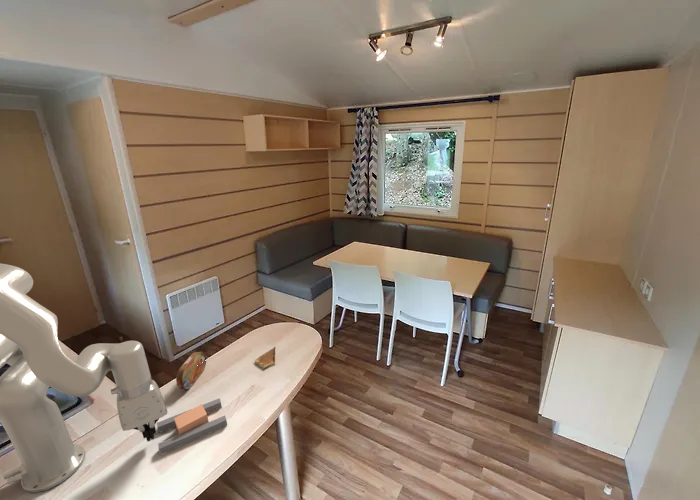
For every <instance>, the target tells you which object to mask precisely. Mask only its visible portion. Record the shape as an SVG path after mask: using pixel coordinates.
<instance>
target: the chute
mask: <svg viewBox="0 0 700 500" xmlns="http://www.w3.org/2000/svg"><path fill="white" fill-rule="evenodd" d="M202 405H203V407H204V409H205V411H206V413H207V414H209V413H212V412H213V411H216V410H219V409H220V408H222V402H221V397H219V398H216V399H214V400H211V401H210V402H209V401H208V402H205V403H204V404H202ZM189 410H190V409H188V410H186V411H183V412H180V413H178V414H175V415H173V416H170V417H168V418H165V419H163V420H160V421H157V422H156V427H157V428H156V430H157V432H158V434H160V433H163V432H165V431H167V430H170V429H172V428H174V427H175V428H176V424H175V420H174V418H175V417H177V416H179V415H181V414H183V413H185V412H187V411H189ZM227 426H228V421H227V418H226V415H223V416H221V417H218V418H215V419H214V420H211V421H209V422H208V423H206V424H203V425H201V426H199V427H196V428H194V429H192V430H189V431H187V432H185V433H182V434H180V435H179V434H178V435H175V436H173V437H171V438H168V439H165V440H164V441H162V442H158V444H157V445H158V452H159V455H160V456H161V455H163V454H166V453H168V452H170V451H172V450H175V449H177V448H179V447H181V446H183V445H186V444H188V443H191V442H193V441H195V440H198V439H200V438H202V437H204V436H206V435H209V434H212V433H213V432H216V431H218V430H220V429H223V428H225V427H227Z"/></svg>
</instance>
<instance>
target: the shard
mask: <svg viewBox="0 0 700 500" xmlns="http://www.w3.org/2000/svg"><path fill="white" fill-rule="evenodd" d="M254 364H257V365H258V366H260V367H261V368H262V369H265V368H268V367H270V366H275V365H276V346H274V347H273V348H271V349H269V350H268V351H266V352H265V353H264V354H261V355H260V356H259V357H258V358H256V359H254Z"/></svg>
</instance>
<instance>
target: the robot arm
mask: <svg viewBox="0 0 700 500" xmlns="http://www.w3.org/2000/svg"><path fill="white" fill-rule="evenodd" d="M33 286H34V279H33V277H32V275H31V274H30V273H29V272H28V271H27V270H24V268H21V267H19V266H16V265H11V264H7V263H0V369H2V367H4V366H5V365H9V366H10V367H9V368H7V369H6V371H4V372H3V373H2V374H1V376H0V423H1V426H2V427H3V429H4V430H5V432H6V435H7V437H8V438H9V439H10V442H11V444H12V446H13V448H14V451H15V452H16V455H17V456H18V458H19V461H20V463H21V464H20V465H19V466H17V467H13V468H10V469H8V470H5V471H4V472H3V479H4V480H6V481H7V483H6V484H7V485H11V484H13V483H15V482H17V481H21V487H22V489H23V490H24V491H25V492H29V493H40V492H44V491H47V490H49V489H52V488H54V487H56V486H58V485H59V484H61V483H63V482H64V481H66V480H67V479H68V478H70V477H71V476H72V475H73V474H74V473H76V471H77V470H78V469H79V468H80V467H81V465H82V463H83V462H84V460H85V457H86V451H85V448H84V447H83V446H81V444H75V443H73V440H72V438H71V436H70V433H69V430H68V428H67V425H66V422H65V421H64V418H63V416H62V413H61V411H60V409H59V407H58V404H57V403H56V402H55V401H53V400H52V399H50V398H49V397H48V396H47V391H49V388H52V389H53V390H55V391H57V392H58V393H59V392H60V393H61V394H64V395H66V396H68V397H69V396H70V397H76V398H80V397H81V398H82V397H85V396H89V395H91V394H92V393H94V392H96V390H97V389H98V388H99V387H100V385H101V384H102V383H103V380H104V379H105V377H106V375H107V373H108V372H110V371H111V372H112V376H113V378H114V382H115V385H116V386H115V387H114V388H111V389H110V393H111V395H114V394H115V395H117V397H116V408H117V415H118V418H119V419H118V420H119V424H120V427H121V430H122V431H123V432H124V431H130V430H136V431H139V433H141V434H142V437H143V439H146V442H147V443H148V442H150V441H153V440H155V434H157V428H156V426H155V425H157V423H158V422H159V419H161V418H163V417H164V416H166V415H168V408H167V407H166V406H165V401H164V397H163V395H162V391H161V390H160V387H159V385H158V384H157V382H156V381H155V379H152V374H151V372H150V368H149V364H148V360H147V357H146V353H145V348H144V346H143V344H142V343H141V342H139V341H137V340H126V341H123V342H120V343H108V342H107V343H105V342H103V343H101V342H100V343H94V344H93V343H92V344H90V345H88V346H85V348H84V349H83V350H81V352H80V353H79V354H78V356H77V357H76V359H75V360H74V361H73V359H71V358H69V357H68V356H67V355H66V353H65V352H64V350H63V349H62V348H61V346H60V343H59V339H58V336H59V335H58V334H59V333H58V326H59V323H58V317H57V315H56V314H55V313H54V312H52V311H51V310H49V309H48V308H46V307H45V306H43V305H42V304H40V303H39V302H37V301H36V300H34V299H33V298H31V297H30V296H29V295H27V294H28V293H29V292H30V291H31V290H32V289H33Z"/></svg>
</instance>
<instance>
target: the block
mask: <svg viewBox="0 0 700 500" xmlns="http://www.w3.org/2000/svg"><path fill="white" fill-rule="evenodd" d="M188 410H189V411H188ZM188 410H186V411H187V412H186V411H184V412H185V413H183V412H182V413H183V414H181V413H180V414H181V415H179V416H177V417H175V418H174V420H175V424H176V426H175V429H176V431H177V433H178V435H180V434H182V433H185V432H187V431H189V430H192V429H194V428H196V427H199V426H201V425H203V424H206V423H208V422H210V421H209V416H208V413H206V411H205V409H204V407H203V404H200V405H197V406H195V407H193V408H191V409H188Z"/></svg>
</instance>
